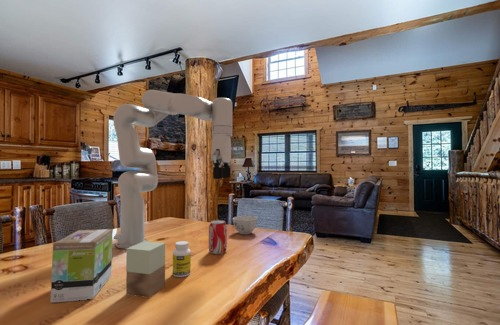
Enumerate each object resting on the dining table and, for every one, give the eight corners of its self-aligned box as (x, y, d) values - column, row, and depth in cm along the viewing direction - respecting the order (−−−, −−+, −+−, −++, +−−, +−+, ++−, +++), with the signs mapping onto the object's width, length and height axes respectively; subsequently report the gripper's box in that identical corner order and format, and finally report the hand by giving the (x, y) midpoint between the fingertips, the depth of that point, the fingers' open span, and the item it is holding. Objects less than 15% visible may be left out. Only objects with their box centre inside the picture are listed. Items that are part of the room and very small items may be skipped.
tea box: (94, 300, 67) (95, 240, 67) (49, 304, 65) (50, 243, 65) (112, 276, 81) (112, 227, 82) (75, 278, 79) (76, 229, 80)
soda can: (223, 255, 100) (223, 223, 100) (205, 254, 102) (206, 223, 102) (228, 250, 107) (229, 220, 107) (212, 248, 108) (212, 219, 109)
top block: (126, 271, 70) (126, 248, 70) (143, 262, 76) (143, 241, 77) (149, 274, 68) (149, 250, 68) (165, 264, 75) (165, 243, 75)
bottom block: (126, 294, 70) (126, 271, 70) (143, 283, 76) (143, 262, 76) (149, 297, 68) (149, 274, 68) (164, 286, 75) (165, 264, 75)
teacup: (229, 231, 138) (229, 216, 138) (251, 229, 143) (251, 214, 143) (239, 238, 124) (239, 221, 124) (263, 236, 129) (263, 219, 129)
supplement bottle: (174, 279, 79) (174, 246, 79) (171, 272, 84) (171, 241, 84) (192, 275, 82) (192, 243, 82) (188, 269, 86) (188, 239, 87)
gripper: (220, 135, 108) (220, 177, 107) (203, 129, 91) (203, 179, 91) (238, 134, 106) (238, 177, 106) (224, 128, 89) (224, 179, 89)
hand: (222, 178), depth 98 cm, fingers open, 9 cm apart
